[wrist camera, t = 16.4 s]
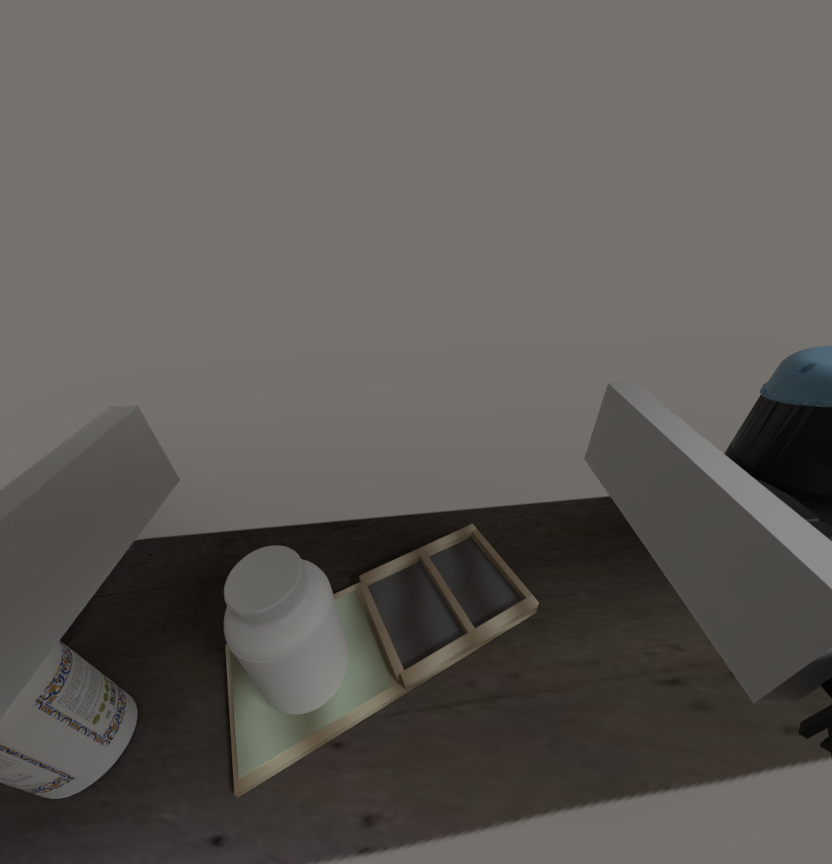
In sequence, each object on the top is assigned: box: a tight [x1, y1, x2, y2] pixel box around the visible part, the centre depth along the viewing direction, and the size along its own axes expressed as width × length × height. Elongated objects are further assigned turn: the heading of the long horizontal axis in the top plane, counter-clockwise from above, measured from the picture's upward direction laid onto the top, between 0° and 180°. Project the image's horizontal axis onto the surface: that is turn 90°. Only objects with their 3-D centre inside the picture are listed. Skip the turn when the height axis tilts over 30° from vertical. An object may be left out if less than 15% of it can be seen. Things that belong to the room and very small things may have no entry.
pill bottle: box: [224, 545, 349, 715], centre depth 29 cm, size 8×8×15 cm
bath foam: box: [0, 640, 137, 799], centre depth 24 cm, size 7×7×20 cm
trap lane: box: [225, 524, 539, 797], centre depth 36 cm, size 30×12×2 cm, turn 117°
